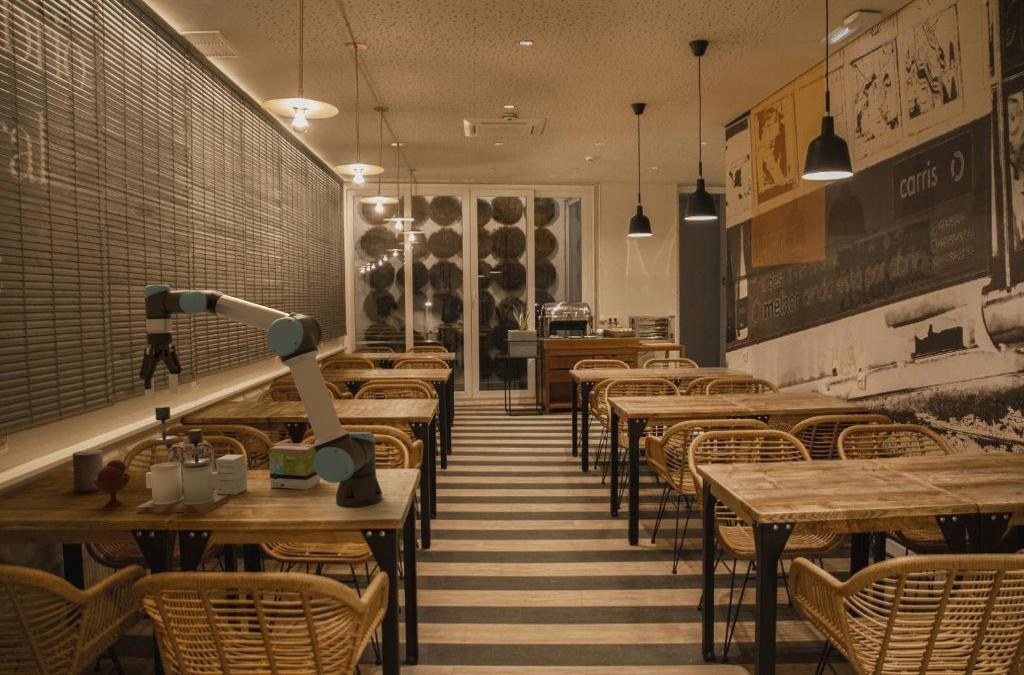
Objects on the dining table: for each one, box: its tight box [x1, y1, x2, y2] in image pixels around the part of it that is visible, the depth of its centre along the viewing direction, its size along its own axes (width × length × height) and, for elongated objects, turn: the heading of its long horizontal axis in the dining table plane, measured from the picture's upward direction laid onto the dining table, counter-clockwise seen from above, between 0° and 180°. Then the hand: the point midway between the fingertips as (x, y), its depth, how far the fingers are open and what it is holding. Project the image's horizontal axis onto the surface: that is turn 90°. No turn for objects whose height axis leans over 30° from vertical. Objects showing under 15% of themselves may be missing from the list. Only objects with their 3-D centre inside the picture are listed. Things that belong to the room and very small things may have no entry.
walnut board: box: [136, 494, 229, 514], centre depth 243 cm, size 24×14×2 cm, turn 84°
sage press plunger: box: [184, 428, 210, 467], centre depth 241 cm, size 8×8×11 cm
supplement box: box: [215, 454, 248, 496], centre depth 259 cm, size 7×7×13 cm
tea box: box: [268, 442, 321, 491], centre depth 266 cm, size 15×10×15 cm
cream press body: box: [145, 461, 184, 505], centre depth 243 cm, size 12×10×12 cm
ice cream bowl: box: [93, 459, 131, 508], centre depth 247 cm, size 11×11×15 cm
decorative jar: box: [167, 436, 216, 490], centre depth 270 cm, size 12×12×18 cm
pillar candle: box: [72, 449, 104, 493], centre depth 269 cm, size 10×10×15 cm
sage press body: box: [181, 463, 219, 505], centre depth 241 cm, size 12×10×12 cm
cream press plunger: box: [150, 405, 179, 444], centre depth 242 cm, size 8×8×11 cm
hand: (162, 396), depth 241 cm, fingers open, 13 cm apart
